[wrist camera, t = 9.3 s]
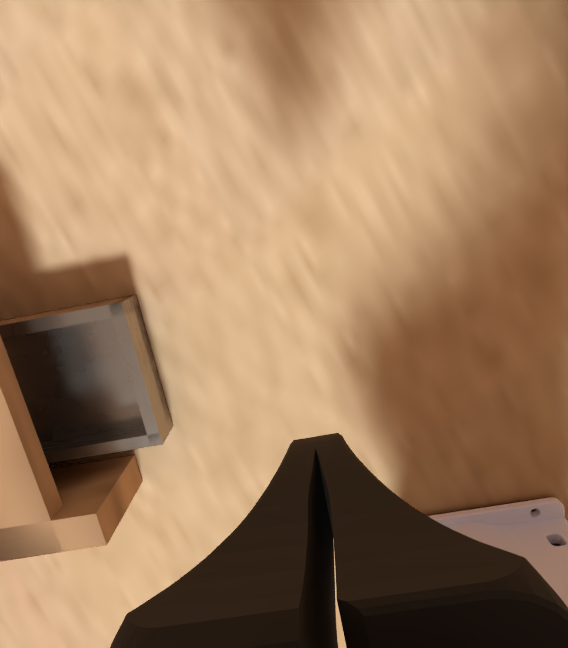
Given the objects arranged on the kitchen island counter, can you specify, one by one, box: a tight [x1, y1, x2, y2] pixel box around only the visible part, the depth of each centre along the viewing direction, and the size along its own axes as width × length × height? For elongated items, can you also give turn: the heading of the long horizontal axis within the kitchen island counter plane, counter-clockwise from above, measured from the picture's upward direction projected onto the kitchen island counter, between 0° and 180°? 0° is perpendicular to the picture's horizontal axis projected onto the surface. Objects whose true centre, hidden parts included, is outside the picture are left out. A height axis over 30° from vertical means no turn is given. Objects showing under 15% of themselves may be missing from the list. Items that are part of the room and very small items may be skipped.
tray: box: [0, 295, 173, 464], centre depth 21 cm, size 10×7×2 cm
